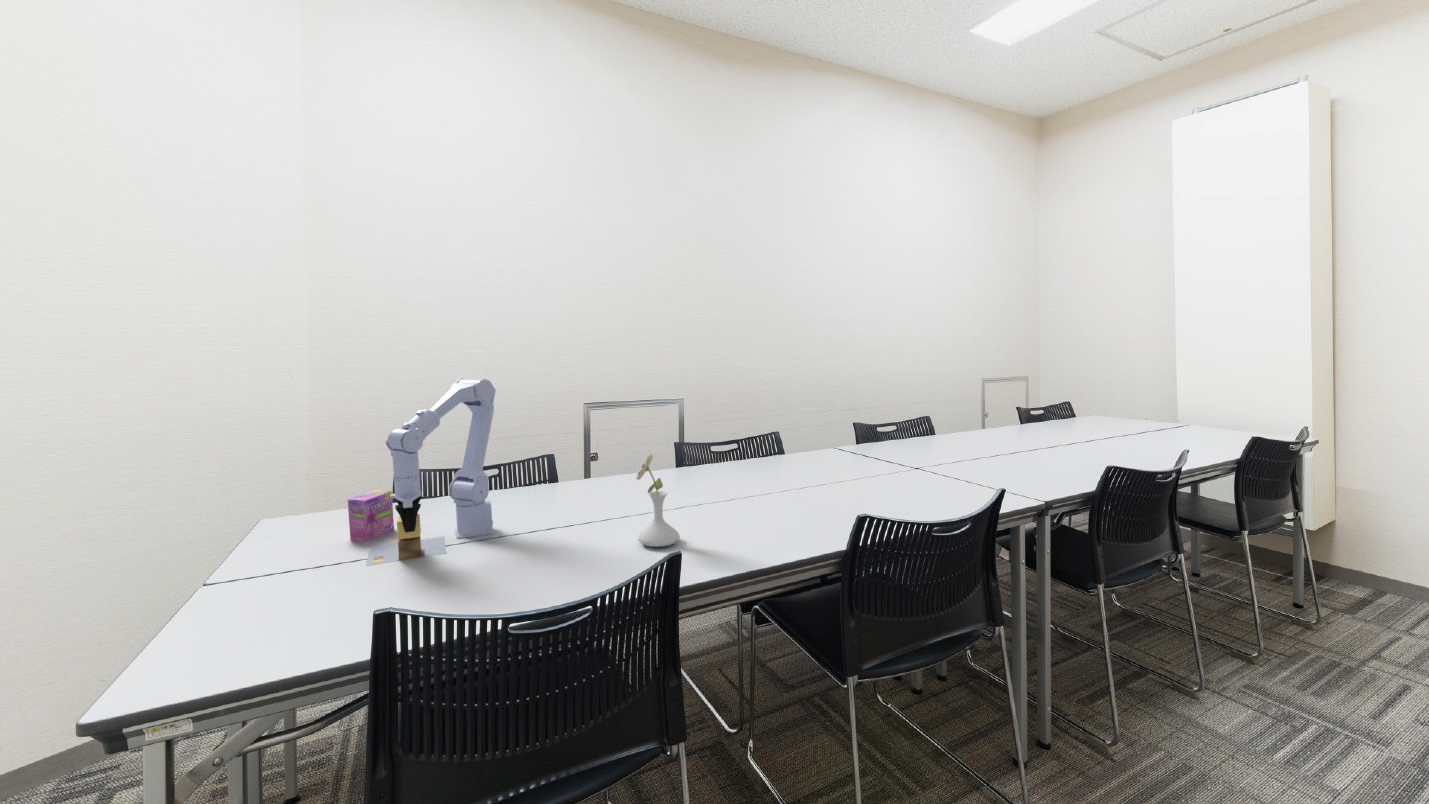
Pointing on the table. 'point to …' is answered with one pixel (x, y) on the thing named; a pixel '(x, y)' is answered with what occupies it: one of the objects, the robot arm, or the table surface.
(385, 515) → the box
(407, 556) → the walnut block
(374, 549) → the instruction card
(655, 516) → the flower in vase
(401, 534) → the mustard block
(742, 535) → the table surface
